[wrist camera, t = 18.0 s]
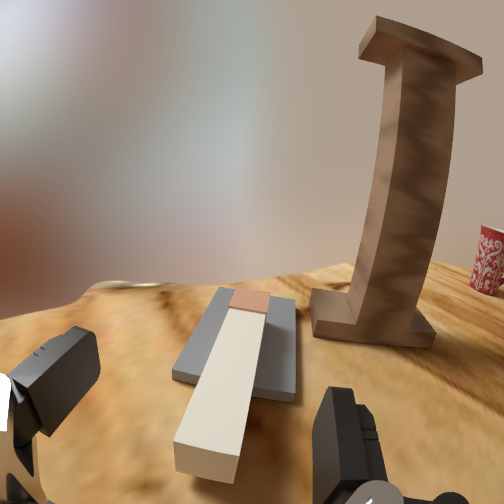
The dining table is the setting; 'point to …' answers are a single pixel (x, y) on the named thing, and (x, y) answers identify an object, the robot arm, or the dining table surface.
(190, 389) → the dining table surface
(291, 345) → the board
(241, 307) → the block
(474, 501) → the dining table surface
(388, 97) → the stand
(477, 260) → the mug
